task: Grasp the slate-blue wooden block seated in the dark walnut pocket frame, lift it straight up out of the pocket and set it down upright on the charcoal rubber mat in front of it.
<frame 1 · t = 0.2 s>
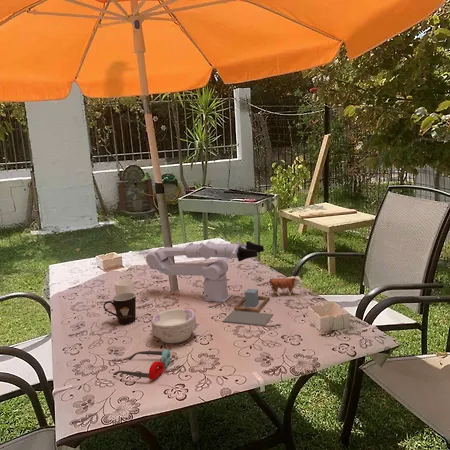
hand: (260, 251, 184), 21 cm above the table, tool horizontal, fingers open, 7 cm apart
bull figurine: (286, 295, 195), on the table
white cup: (126, 305, 197), on the table
blue block: (252, 305, 187), resting in pocket frame
coffee mug: (123, 321, 180), on the table
pocket frame: (252, 305, 186), on the table
white round bowl: (175, 338, 162), on the table
novelty glasses: (143, 371, 142), on the table
rubber mat: (248, 318, 174), on the table
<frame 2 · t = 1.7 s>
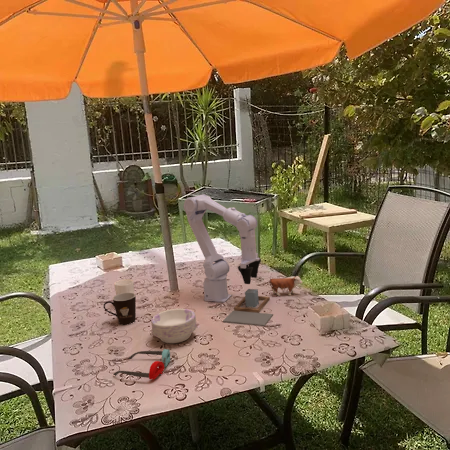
hand: (250, 280, 184), 10 cm above the table, tool pointing down, fingers open, 7 cm apart
nothing on the table moved.
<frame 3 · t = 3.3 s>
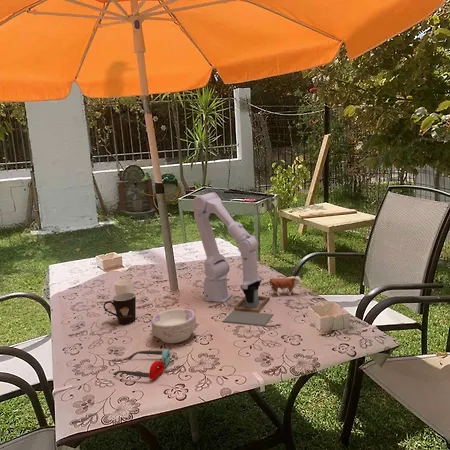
hand: (252, 300, 186), 2 cm above the table, tool pointing down, fingers closed on blue block, 4 cm apart
blue block: (252, 305, 186), resting in pocket frame, touching gripper
everything else where it was.
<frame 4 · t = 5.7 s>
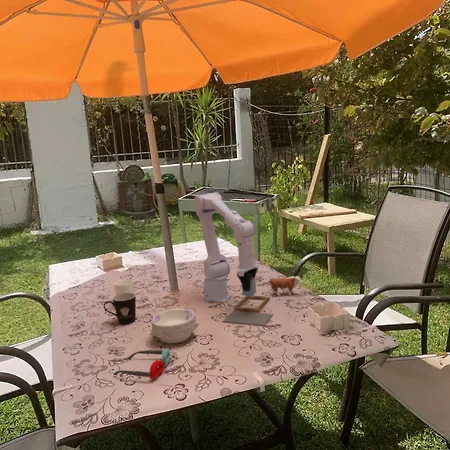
hand: (248, 288, 177), 9 cm above the table, tool pointing down, fingers closed on blue block, 4 cm apart
blue block: (249, 293, 178), point 7 cm above the table, touching gripper
everything else where it was.
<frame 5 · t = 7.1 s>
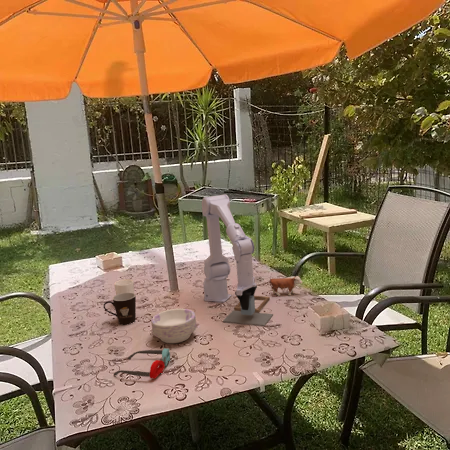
hand: (247, 307, 173), 4 cm above the table, tool pointing down, fingers closed on blue block, 4 cm apart
blue block: (248, 312, 173), point 2 cm above the table, touching gripper
everything else where it was.
when the fingers open (3 cm above the table, at t = 8.1 s): blue block stays where it is, resting on rubber mat.
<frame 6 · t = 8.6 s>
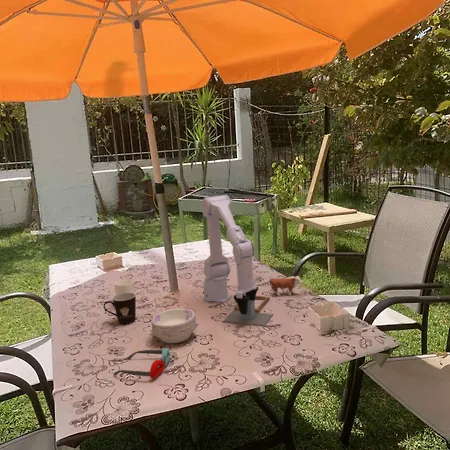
hand: (247, 309, 173), 3 cm above the table, tool pointing down, fingers open, 7 cm apart
blue block: (248, 317, 173), resting on rubber mat
everything else where it was.
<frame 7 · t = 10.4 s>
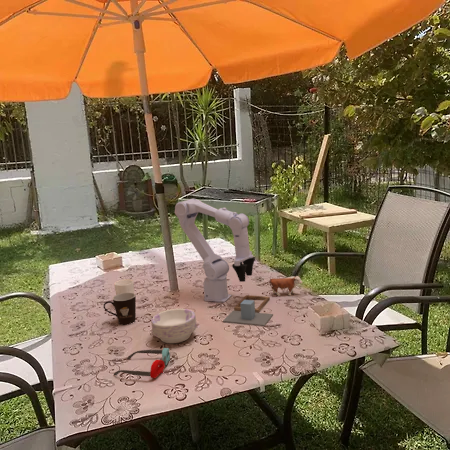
hand: (245, 278, 187), 10 cm above the table, tool pointing down, fingers open, 7 cm apart
nothing on the table moved.
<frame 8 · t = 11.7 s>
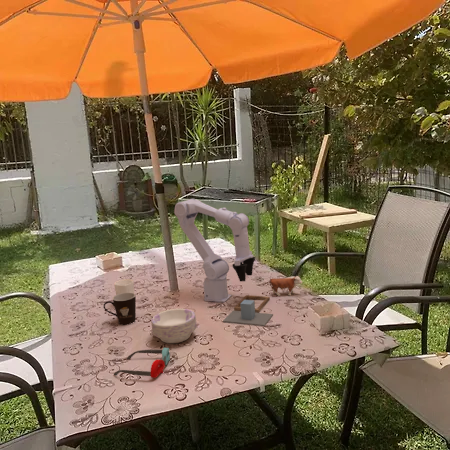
hand: (246, 278, 187), 10 cm above the table, tool pointing down, fingers open, 7 cm apart
nothing on the table moved.
at the end: blue block 0.2 cm off-centre on the rubber mat, point 0.5 cm above the rubber mat's base; blue block tilted 0°; the gripper is holding nothing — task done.
